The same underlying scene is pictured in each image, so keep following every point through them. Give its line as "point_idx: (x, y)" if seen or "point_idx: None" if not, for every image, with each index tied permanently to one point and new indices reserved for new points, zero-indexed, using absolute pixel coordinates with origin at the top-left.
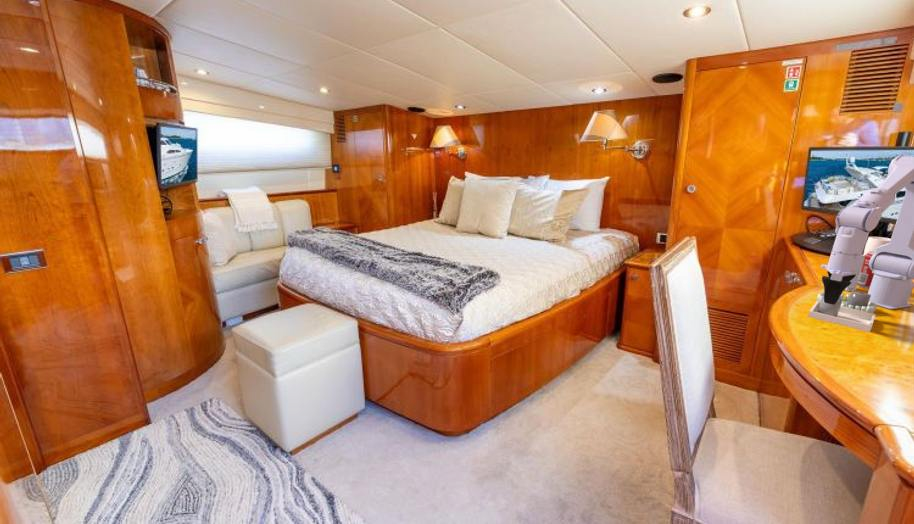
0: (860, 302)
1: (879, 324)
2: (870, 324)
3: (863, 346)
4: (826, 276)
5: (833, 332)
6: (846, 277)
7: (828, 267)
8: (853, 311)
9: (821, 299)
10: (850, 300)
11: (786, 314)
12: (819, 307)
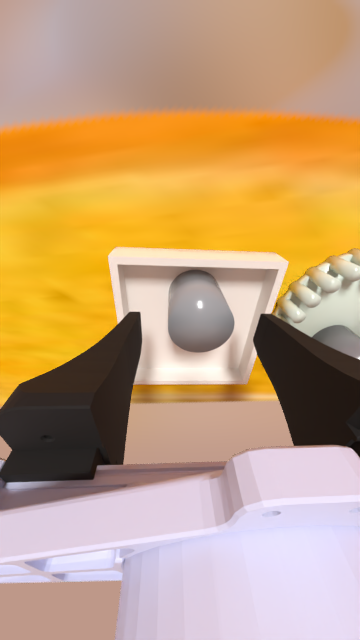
0: None
1: None
2: (139, 381)
3: (27, 364)
4: (88, 424)
5: (55, 316)
6: (307, 444)
7: (174, 539)
8: (249, 348)
9: (341, 270)
10: (340, 344)
11: (88, 170)
12: (187, 280)
